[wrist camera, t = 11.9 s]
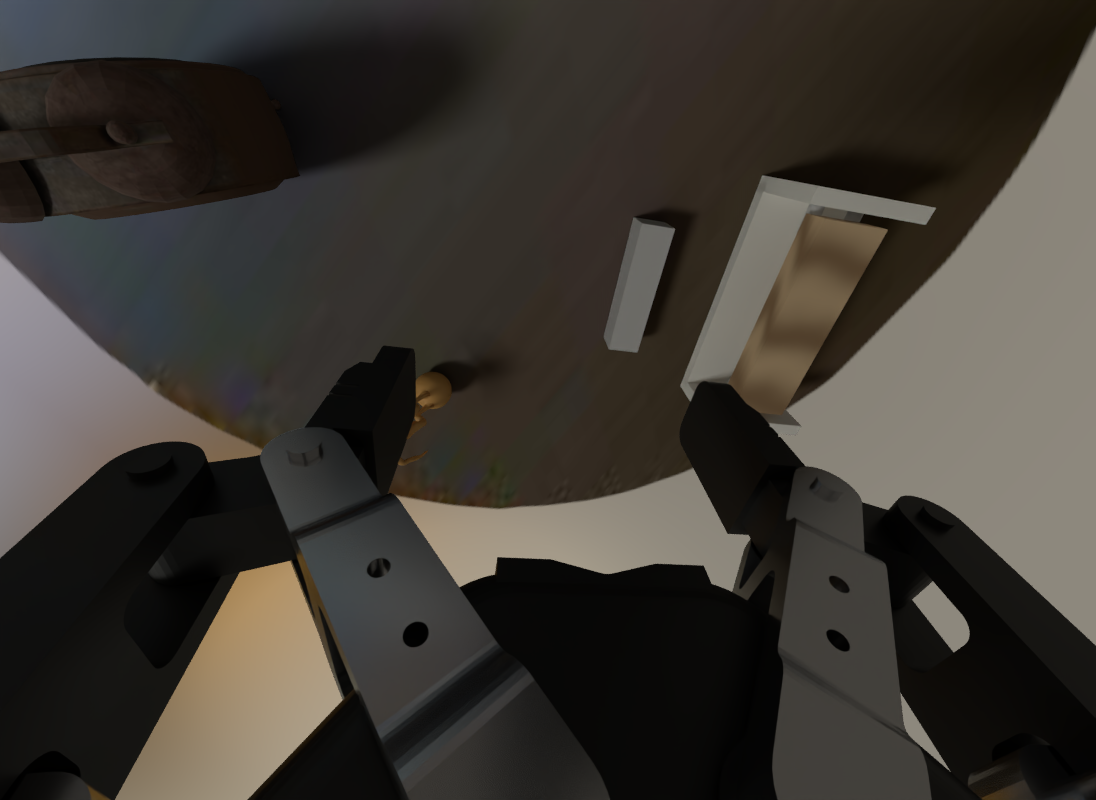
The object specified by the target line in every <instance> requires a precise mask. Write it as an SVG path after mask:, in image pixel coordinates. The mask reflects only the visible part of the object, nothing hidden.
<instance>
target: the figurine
mask: <svg viewBox="0 0 1096 800" xmlns="http://www.w3.org/2000/svg"><path fill="white" fill-rule="evenodd" d="M451 394H452V387H451V384H450V382H449V380H448V379H447V378H446V377H445V376H444V375H442V374H440V373H438V372H427V373H424V374H422V375H421V376H420V377H419V378H418V379H417V380H416V408H415V415H416V416H415V415H414V417H415V420H416V421H413V423H412V426H411V429H410V431H409V434H408V437H407V439H409V438H410V437H411V436H412V435H413V434H414V433H415V432H416V431H418V430H419V429H420V428H422V427H424V426H425V425H426V419H425V418H423V417H422V416H421V414H422V413H424V412H425V411H426V410H428V409H436V408H440V407H442V406H444V405H445V404H446V403H447V402H448V401H449V399H450V397H451ZM417 403H419V404H420V405H422V406H423V407H422V408H421V409H420V406H419V405H418V404H417ZM427 451H428V450H427ZM427 451H425V452H424V453H423V454H421V455H419V456H413V457H411V458H408V459H406V460H403V459H402V458H401V457H400V460H399V462H398V464H399V465H406V464H408V463H409V462H413V461H416V460H418V459H420V458H421V457H423V456H424V455H425V454H426V453H427Z"/></svg>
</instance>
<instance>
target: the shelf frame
mask: <svg viewBox="0 0 1096 800" xmlns="http://www.w3.org/2000/svg"><path fill="white" fill-rule="evenodd" d="M935 209H936V208H933V207H928V206H923V205H917V204H912V203H907V202H902V201H896V200H891V199H886V198H880V197H875V196H870V195H864V194H859V193H854V192H849V191H843V190H838V189H833V188H827V187H822V186H817V185H811V184H806V183H801V182H795V181H790V180H785V179H779V178H774V177H769V176H763V175H762V178H761V180H760V183H759V185H758V188H757V190H756V193H755V196H754V198H753V201H752V203H751V206H750V208H749V211H748V214H747V216H746V219H745V221H744V224H743V226H742V229H741V232H740V234H739V237H738V239H737V242H736V244H735V247H734V249H733V252H732V255H731V257H730V260H729V262H728V265H727V267H726V270H725V273H724V275H723V278H722V280H721V283H720V285H719V288H718V291H717V293H716V296H715V298H714V301H713V303H712V306H711V308H710V311H709V314H708V316H707V319H706V321H705V324H704V326H703V329H702V332H701V334H700V337H699V339H698V342H697V344H696V347H695V350H694V352H693V355H692V357H691V360H690V362H689V365H688V367H687V370H686V373H685V375H684V378H683V380H682V383H681V385H680V386H681V388H682V389H683V391H684V392H685V394H686V396H687V397H688V399H689V400H690V402H691V399H692V397H693V395H694V392H695V390H696V388H697V386H698V385H699V383H701V382H702V381H708V382H717V383H727V384H728V382H729V380H730V378H731V376H732V374H733V372H734V369H735V367H736V365H737V363H738V361H739V358H740V356H741V354H742V352H743V350H744V348H745V345H746V343H747V341H748V339H749V337H750V335H751V332H752V330H753V328H754V326H755V324H756V322H757V319H758V317H759V315H760V313H761V311H762V308H763V306H764V304H765V302H766V300H767V298H768V295H769V293H770V291H771V289H772V287H773V285H774V282H775V280H776V278H777V276H778V274H779V272H780V269H781V267H782V265H783V263H784V261H785V258H786V256H787V254H788V252H789V250H790V248H791V245H792V243H793V241H794V239H795V237H796V235H797V232H798V230H799V228H800V226H801V224H802V222H803V219H804V217H805V215H806V213H808V214H813V215H819V216H825V217H831V218H836V219H842V220H848V221H854V222H860V221H861V219H862V217H863V215H864V214H868V215H874V216H880V217H885V218H891V219H896V220H902V221H907V222H913V223H918V224H924V225H926V223H927V222H928V220H929V219H930V217H931V215H932V214H933V212H934V211H935ZM760 414H761V415H762V416H763V417H764V419H765V420H766V421H767V422H768V423H769V424H770V427H772V428H773V429H774V430H775V431H776V433H777V434H786V435H796V434H797V433H798V431H799V429H800V428H801V425H800V424H799V423H798V422H797V421H796V420H795V419H794V418H793V417H792V416H791V415H790V414H789V413H788V412H787V411H786V410H785V411H784V413H783V414H782V415H775V414H765V413H760Z"/></svg>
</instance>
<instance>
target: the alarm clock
mask: <svg viewBox="0 0 1096 800" xmlns="http://www.w3.org/2000/svg"><path fill="white" fill-rule="evenodd" d="M280 108H281V104H280V102H279V101H278V100H275V99H273V100H271V101H270V99H269V97H268V95H267V93H266V91H265V89H264V87H263V85H262V83H261V81H260V80H259V79H258V78H256V77H254V76H251V75H247V74H245V73H244V72H243V71H241V70H239V69H237V68H233V67H229V66H224V65H218V64H211V63H200V62H188V61H181V60H173V59H159V58H121V57H117V58H91V59H76V60H65V61H55V62H47V63H42V64H36V65H30V66H26V67H22V68H19V69H12V70H7V71H2V72H0V222H1V223H26V222H36V221H42V220H43V218H44V217H48V216H58V215H67V214H73V215H77V216H81V217H85V218H90V219H95V220H96V219H108V218H116V217H124V216H131V215H138V214H144V213H151V212H158V211H164V210H170V209H176V208H182V207H188V206H194V205H200V204H205V203H211V202H216V201H222V200H227V199H233V198H238V197H243V196H248V195H253V194H257V193H262V192H266V191H270V190H273V189H276V188H277V187H278V186H279V185H280V183H281V182H282V181H283V180H284V179H289V178H294V177H297V176H300V175H299V172H298V169H297V167H296V163H295V160H294V156H293V153H292V150H291V146H290V143H289V139H288V137H287V134H286V132H285V129H284V127H283V125H282V123H281V121H280V119H279V117H278V115H277V113H276V111H275V110H279V109H280Z"/></svg>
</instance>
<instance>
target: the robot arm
mask: <svg viewBox="0 0 1096 800" xmlns="http://www.w3.org/2000/svg"><path fill="white" fill-rule="evenodd" d="M415 408H416V373H415V352H414V349H411V348H401V347H392V346H383V347H382V348H381V350H380V351H379V353H378V355H377V356H376V358H375V360H374V361H373V363H366V362H359V363H358V364H356V365H354V366H353V367H351V368H349V369H347V370H346V371H344V373H343V374H342V375H341V377H340V378H339V380H338V381H337V383H336V385H334V387H333V388H332V390H331V391H330V392H329V395H327V397H326V398H325V399H324V401H323V402H322V404H321V405H320V407H319V408H318V409H317V411H316V412H315V414H314V415H313V416H312V418H311V419H310V421H309V422H308V423H307V425H306V426H305V428H300V429H296V430H292V431H289V432H286V433H284V434H282V435H280V436H278V437H276V438H274V439H273V440H272V441H270V442H269V443H268V444H267V445H266V446H265V447H264V449H263V450H262V452H261V455H258V456H254V457H247V458H240V459H232V460H224V461H217V462H209V463H208V461H207V459H206V456H205V453H204V451H203V450H202V449H201V448H200V447H198V446H196V445H194V444H191V443H186V442H162V443H156V444H150V445H147V446H143V447H139V448H136V449H134V450H131V451H128V452H126V453H124V454H122V455H120V456H118V457H116V458H114V459H113V460H111V461H109V462H108V463H107V464H105V465H104V466H103V467H102V468H100V469H99V470H98V471H97V472H96V473H95V474H94V475H93V476H92V477H90V478H89V479H88V480H87V481H86V482H85V483H84V484H83V485H82V486H80V487H79V488H78V489H77V490H76V491H75V492H74V493H73V494H72V495H70V496H69V497H68V498H67V499H66V500H65V501H64V502H63V503H61V504H60V505H59V506H58V507H57V508H56V509H55V510H54V511H53V512H52V513H50V514H49V515H48V516H47V517H46V518H45V519H44V520H43V521H41V522H40V523H39V524H38V525H37V526H36V527H35V528H34V529H32V530H31V531H30V532H29V533H28V534H27V535H26V536H25V537H24V538H22V540H20V541H19V542H18V543H17V544H16V545H15V546H13V547H12V548H11V549H10V550H9V551H8V552H7V553H6V554H5V555H4V556H2V557H1V558H0V800H115V798H116V796H117V795H118V793H119V791H120V789H121V787H122V785H123V784H124V782H125V780H126V778H127V776H128V775H129V773H130V771H131V769H132V767H133V765H134V763H135V762H136V760H137V758H138V756H139V755H140V753H141V751H142V749H143V747H144V745H145V744H146V742H147V740H148V738H149V736H150V734H151V733H152V731H153V729H154V727H155V725H156V724H157V722H158V720H159V718H160V716H161V714H162V713H163V711H164V709H165V707H166V705H167V704H168V702H169V700H170V698H171V696H172V694H173V693H174V691H175V689H176V687H177V685H178V683H179V682H180V680H181V678H182V676H183V674H184V673H185V671H186V669H187V667H188V665H189V663H190V662H191V660H192V658H193V656H194V654H195V653H196V651H197V649H198V647H199V645H200V643H201V641H202V640H203V638H204V636H205V634H206V632H207V631H208V629H209V627H210V625H211V623H212V622H213V620H214V618H215V616H216V614H217V612H218V610H219V609H220V607H221V605H222V603H223V601H224V600H225V598H226V596H227V594H228V592H229V591H230V589H231V587H232V585H233V583H234V581H235V580H236V578H237V576H238V574H239V572H242V571H246V570H251V569H255V568H260V567H264V566H269V565H273V564H278V563H282V562H286V561H291V564H292V567H293V569H294V572H295V574H296V577H297V579H298V582H299V584H300V587H301V589H302V592H303V595H304V597H305V600H306V602H307V605H308V607H309V610H310V613H311V615H312V617H313V620H314V623H315V625H316V628H317V631H318V633H319V636H320V639H321V642H322V645H323V648H324V651H325V653H326V656H327V659H328V662H329V665H330V668H331V670H332V673H333V675H334V678H335V681H336V684H337V686H338V689H339V691H340V694H341V697H342V699H343V700H342V702H341V703H340V704H339V705H338V706H337V707H336V708H335V709H334V710H333V711H332V712H331V713H330V714H329V715H328V716H327V717H326V718H325V719H324V720H323V721H322V722H321V723H320V725H319V726H318V727H317V728H316V729H315V730H314V731H313V732H312V733H311V734H310V735H309V736H308V737H307V738H306V739H305V740H304V741H303V742H302V743H301V744H300V745H299V746H298V748H297V749H296V750H295V751H294V752H293V753H292V754H291V755H290V756H289V757H288V758H287V759H286V760H285V761H284V762H283V763H282V765H280V766H279V767H278V768H277V769H276V771H275V772H274V773H273V774H272V775H271V776H270V777H269V778H268V779H267V780H266V781H265V782H264V783H263V784H262V785H261V786H260V787H259V788H258V789H257V790H256V791H255V792H254V794H253V795H252V796H251V797H250V798H249V799H248V800H1096V646H1095V645H1094V644H1093V643H1092V642H1091V641H1090V640H1089V639H1088V638H1087V637H1086V636H1085V635H1084V634H1083V633H1082V632H1080V631H1079V630H1078V629H1077V628H1076V627H1075V626H1074V625H1073V624H1072V623H1071V622H1070V621H1069V620H1068V619H1066V618H1065V617H1064V616H1063V615H1062V614H1061V613H1060V612H1059V611H1058V610H1057V609H1056V608H1055V607H1054V606H1052V605H1051V604H1050V603H1049V602H1048V601H1047V600H1046V599H1045V598H1044V597H1043V596H1042V595H1041V594H1040V593H1039V592H1037V591H1036V590H1035V589H1034V588H1033V587H1032V586H1031V585H1030V584H1029V583H1028V582H1026V580H1025V579H1023V578H1022V577H1021V576H1020V575H1019V574H1018V573H1017V572H1016V571H1015V570H1014V569H1013V568H1012V567H1011V566H1009V565H1008V564H1007V563H1006V562H1005V561H1004V560H1003V559H1002V558H1001V557H1000V556H999V555H997V553H996V552H994V551H993V550H992V549H991V548H990V547H989V546H988V545H987V544H986V543H985V542H984V541H983V540H982V539H980V538H979V537H978V536H977V535H976V534H975V533H974V532H973V531H972V530H971V529H970V528H969V527H968V526H966V525H965V524H964V523H963V522H962V521H961V520H960V519H959V518H957V517H956V516H955V515H953V514H952V513H950V512H949V511H947V510H946V509H944V508H942V507H940V506H938V505H936V504H934V503H932V502H930V501H927V500H925V499H922V498H918V497H914V496H902V497H900V498H899V499H898V500H897V501H896V502H895V503H894V504H893V506H892V507H891V508H890V509H889V510H886V509H882V508H879V507H876V506H872V505H869V504H866V503H863V502H862V501H861V498H860V496H859V495H858V493H857V492H856V491H855V490H854V489H853V488H852V487H851V486H850V485H849V484H847V483H846V482H845V481H843V480H842V479H840V478H839V477H837V476H835V475H833V474H831V473H829V472H827V471H824V470H822V469H818V468H814V467H806V466H805V465H804V464H803V463H802V462H801V461H800V459H799V458H798V457H797V456H796V455H795V454H794V452H793V451H792V450H791V449H790V448H789V447H788V445H787V444H786V443H785V442H784V441H783V440H782V438H781V437H778V434H777V433H776V431H775V430H774V429H773V428H772V427H770V424H769V423H768V422H767V421H766V420H765V419H764V417H763V416H762V415H761V414H760V413H759V412H758V411H756V410H755V409H753V408H752V407H751V406H749V405H748V404H746V402H745V401H744V400H743V399H742V398H741V396H740V395H739V394H738V393H737V392H736V390H735V389H734V388H733V387H732V386H731V385H730V384H727V383H717V382H708V381H702V382H701V383H699V385H698V386H697V388H696V390H695V392H694V395H693V397H692V399H691V402H690V404H689V407H688V409H687V411H686V414H685V416H684V419H683V421H682V424H681V427H680V442H681V445H682V447H683V449H684V451H685V453H686V455H687V457H688V459H689V460H690V462H691V464H692V466H693V468H694V470H695V472H696V474H697V476H698V478H699V480H700V482H701V483H702V485H703V487H704V489H705V491H706V493H707V495H708V497H709V498H710V500H711V502H712V504H713V506H714V508H715V510H716V512H717V514H718V516H719V518H720V520H721V522H722V524H723V526H724V527H725V529H726V531H727V533H728V534H743V535H749V536H750V538H751V539H750V541H749V542H748V544H747V545H746V547H745V549H744V552H743V556H742V559H741V563H740V567H739V570H738V574H737V577H736V581H735V584H734V588H733V591H732V592H731V591H729V590H726V589H724V588H721V587H719V586H716V585H713V584H711V582H710V579H709V577H708V575H707V572H706V570H705V568H704V566H697V565H672V564H653V565H648V566H644V567H640V568H635V569H631V570H626V571H622V572H618V573H613V574H602V573H598V572H594V571H591V570H587V569H583V568H580V567H576V566H573V565H569V564H565V563H562V562H558V561H554V560H551V559H525V558H502V557H498V558H497V564H496V571H495V575H491V576H487V577H483V578H480V579H478V580H475V581H472V582H470V583H468V584H466V585H463V586H461V587H459V586H458V585H457V584H456V582H455V581H454V579H453V578H452V576H451V575H450V573H449V572H448V570H447V569H446V567H445V566H444V565H443V563H442V562H441V560H440V559H439V557H438V556H437V554H436V553H435V551H434V550H433V549H432V547H431V546H430V544H429V543H428V541H427V540H426V538H425V537H424V535H423V534H422V532H421V531H420V530H419V528H418V527H417V525H416V524H415V522H414V521H413V519H412V518H411V516H410V515H409V514H408V512H407V511H406V509H405V508H404V506H403V505H402V503H401V502H400V500H399V499H398V498H397V497H396V496H395V495H394V494H392V493H389V494H388V491H389V488H390V485H391V482H392V479H393V477H394V474H395V471H396V468H397V465H398V462H399V460H400V457H401V454H402V451H403V448H404V446H405V443H406V440H407V437H408V434H409V431H410V429H411V426H412V423H413V420H414V415H415ZM932 581H934V583H935V584H936V585H937V586H938V587H939V589H941V591H942V592H943V593H944V594H945V595H946V597H947V598H948V599H949V600H950V601H951V602H952V603H953V605H954V606H955V607H956V608H957V609H958V610H959V611H960V613H961V614H962V615H963V616H964V618H965V620H966V621H967V624H968V626H969V630H970V637H969V640H968V642H967V643H966V644H965V645H964V646H963V647H961V648H960V649H958V650H957V651H956V652H954V653H953V651H952V650H951V649H950V648H949V646H948V645H947V644H946V643H945V641H944V640H943V639H942V638H941V636H940V635H939V634H938V632H937V631H936V630H935V629H934V627H933V626H932V625H931V623H930V622H929V621H928V620H927V618H926V617H925V616H924V615H923V613H922V612H921V611H920V609H919V608H918V607H917V606H916V604H915V603H914V602H913V601H912V599H913V598H914V597H915V596H916V595H918V594H919V593H920V592H921V591H922V590H923V589H924V588H926V587H927V586H928V585H929V584H930V583H931V582H932ZM900 692H901V694H902V696H903V697H904V699H905V700H906V702H907V703H908V705H909V707H910V708H911V710H912V711H913V713H914V715H915V716H916V717H917V719H918V721H919V722H920V724H921V726H922V727H923V729H924V730H925V732H926V733H927V735H928V736H929V738H930V740H931V741H932V743H933V744H934V746H935V747H936V749H937V751H938V752H939V754H940V755H941V757H942V759H943V760H944V762H945V763H946V765H947V766H948V768H949V769H950V771H951V772H950V771H949V770H947V769H946V768H945V767H944V766H943V765H942V764H940V763H939V762H938V761H937V760H936V759H935V758H934V757H932V756H931V755H930V754H929V753H928V752H927V751H925V750H924V749H923V748H922V747H921V746H920V745H918V744H917V743H916V742H915V741H914V740H913V739H912V738H911V737H910V736H909V735H908V733H907V732H906V729H905V727H904V722H903V715H902V706H901V696H900Z"/></svg>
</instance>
